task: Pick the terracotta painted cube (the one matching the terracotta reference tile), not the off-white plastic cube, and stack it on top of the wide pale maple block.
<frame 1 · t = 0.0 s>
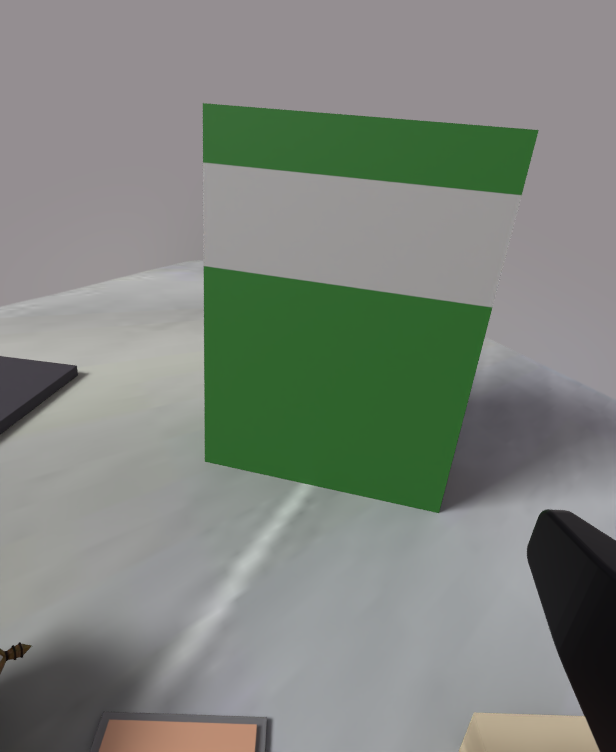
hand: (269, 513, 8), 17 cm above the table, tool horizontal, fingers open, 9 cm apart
hardback book: (326, 460, 38), on the table
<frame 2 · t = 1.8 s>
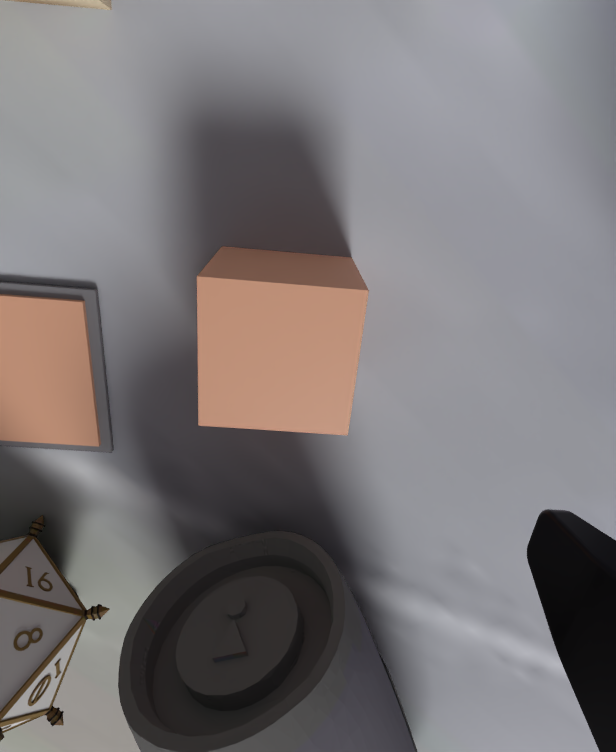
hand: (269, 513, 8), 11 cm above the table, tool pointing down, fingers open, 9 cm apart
terracotta cube: (283, 313, 17), on the table
game die: (32, 558, 22), on the table
bluetooth speaker: (313, 664, 26), on the table
reference tile: (14, 369, 18), on the table
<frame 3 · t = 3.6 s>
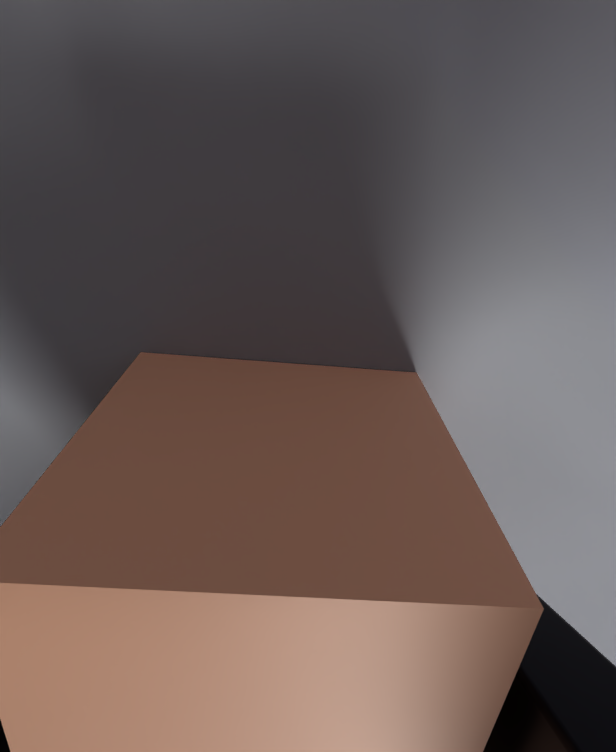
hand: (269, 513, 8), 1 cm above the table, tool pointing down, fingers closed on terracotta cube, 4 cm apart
terracotta cube: (272, 475, 9), on the table, touching gripper
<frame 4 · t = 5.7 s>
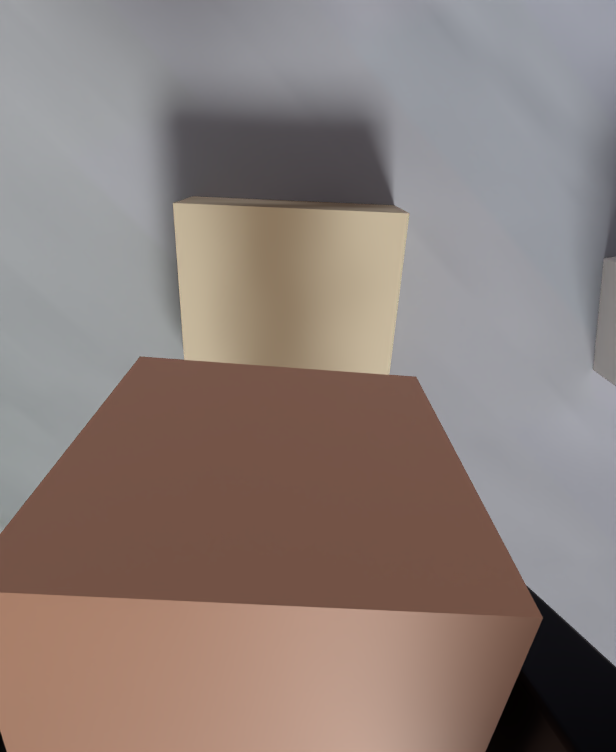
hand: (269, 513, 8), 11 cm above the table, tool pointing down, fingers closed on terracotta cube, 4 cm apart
terracotta cube: (272, 478, 9), point 10 cm above the table, touching gripper
maple base block: (291, 296, 18), on the table
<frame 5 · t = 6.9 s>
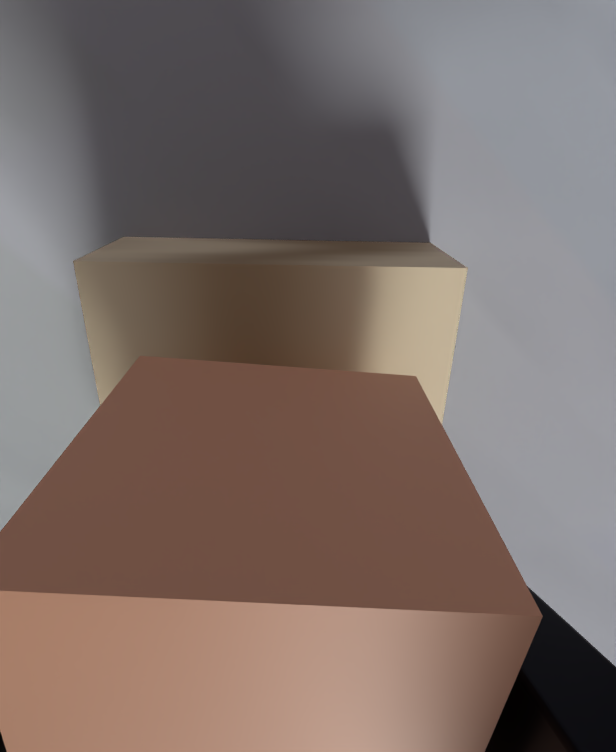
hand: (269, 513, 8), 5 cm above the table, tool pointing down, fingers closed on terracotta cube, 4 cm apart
terracotta cube: (272, 478, 9), point 4 cm above the table, touching gripper
maple base block: (279, 372, 13), on the table
when the fingers open (5 cm above the table, at t = 7.6 s): terracotta cube drops 1 cm, resting on maple base block.
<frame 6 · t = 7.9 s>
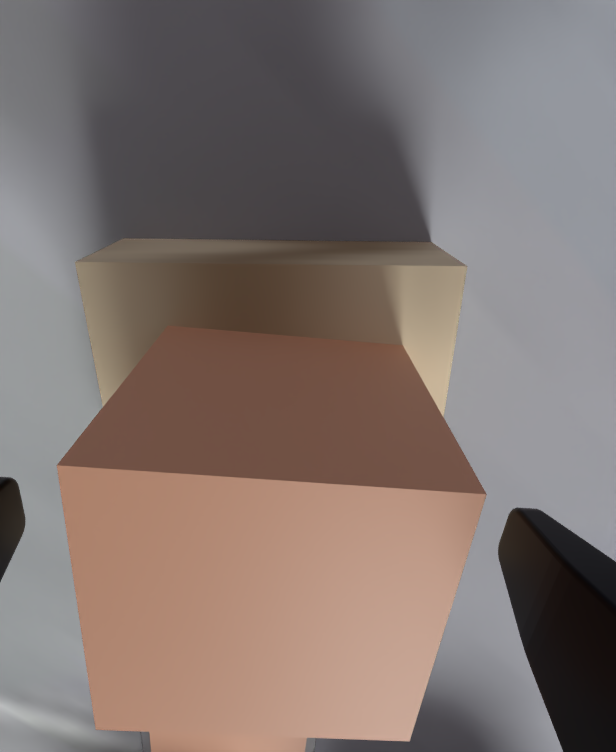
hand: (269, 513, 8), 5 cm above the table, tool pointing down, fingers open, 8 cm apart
terracotta cube: (278, 436, 10), point 3 cm above the table, touching maple base block
reference tile: (230, 723, 18), on the table
maple base block: (280, 371, 13), on the table, touching terracotta cube
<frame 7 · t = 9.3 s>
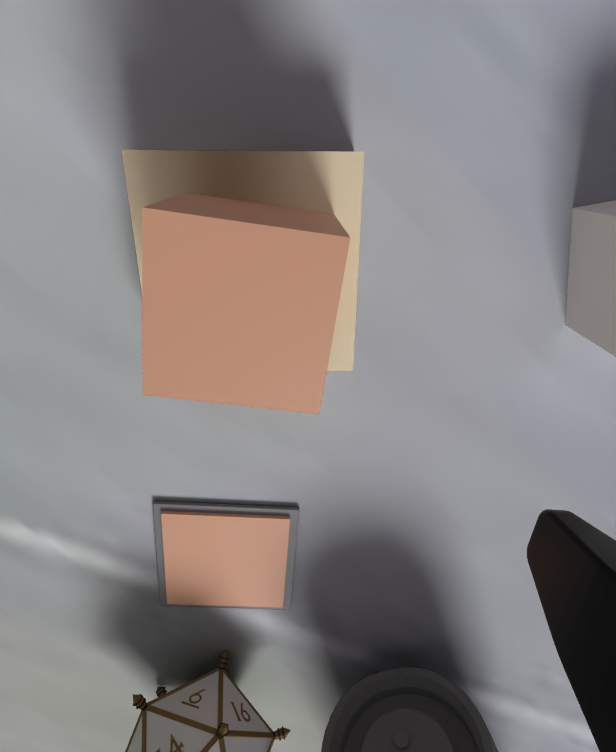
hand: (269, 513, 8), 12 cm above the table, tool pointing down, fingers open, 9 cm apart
terracotta cube: (253, 276, 15), point 3 cm above the table, touching maple base block
game die: (209, 677, 28), on the table
bluetooth speaker: (419, 747, 32), on the table
reference tile: (226, 557, 24), on the table
maple base block: (256, 253, 18), on the table, touching terracotta cube
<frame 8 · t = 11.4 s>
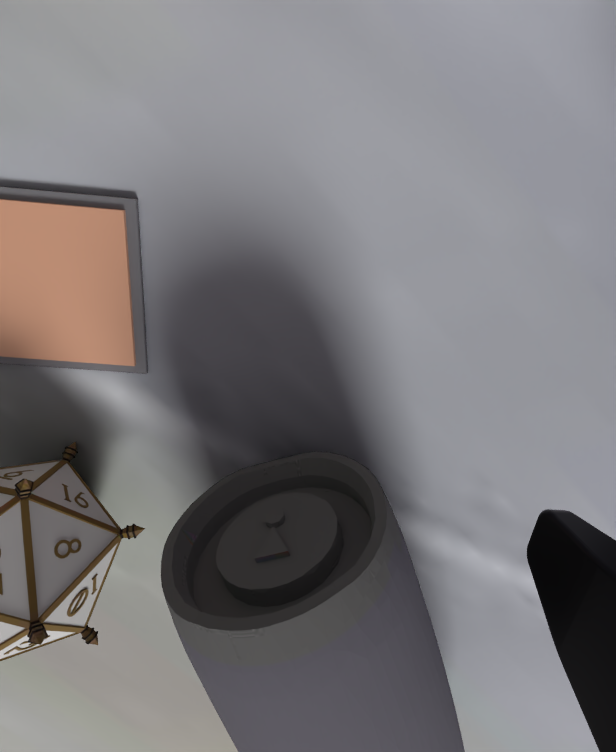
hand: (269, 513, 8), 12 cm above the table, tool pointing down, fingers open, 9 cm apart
game die: (63, 488, 23), on the table
bluetooth speaker: (338, 604, 26), on the table
reference tile: (53, 284, 18), on the table
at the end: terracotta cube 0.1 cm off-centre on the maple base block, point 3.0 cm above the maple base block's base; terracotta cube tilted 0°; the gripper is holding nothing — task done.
